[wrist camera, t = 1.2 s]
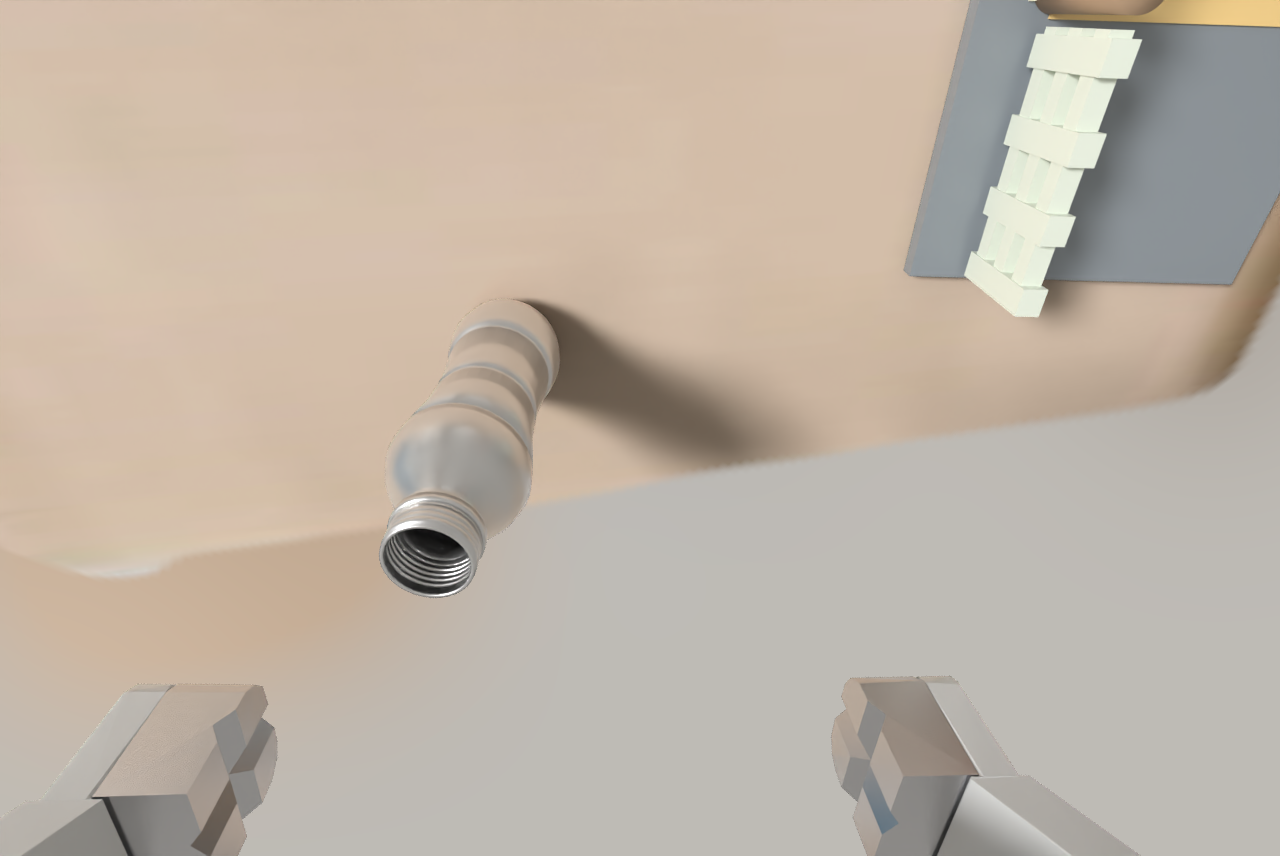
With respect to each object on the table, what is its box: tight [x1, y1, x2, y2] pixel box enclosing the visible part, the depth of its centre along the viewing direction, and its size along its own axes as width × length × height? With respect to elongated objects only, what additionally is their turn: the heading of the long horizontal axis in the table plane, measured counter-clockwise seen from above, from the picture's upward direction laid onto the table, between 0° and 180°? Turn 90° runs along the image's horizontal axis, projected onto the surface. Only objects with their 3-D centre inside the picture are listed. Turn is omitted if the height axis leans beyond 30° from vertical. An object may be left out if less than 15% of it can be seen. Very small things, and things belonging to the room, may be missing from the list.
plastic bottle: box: [379, 299, 560, 598], centre depth 33 cm, size 6×7×20 cm
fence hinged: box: [964, 27, 1142, 317], centre depth 32 cm, size 12×1×6 cm, turn 178°
